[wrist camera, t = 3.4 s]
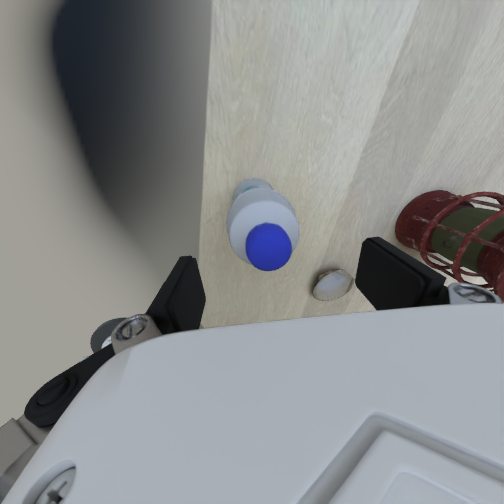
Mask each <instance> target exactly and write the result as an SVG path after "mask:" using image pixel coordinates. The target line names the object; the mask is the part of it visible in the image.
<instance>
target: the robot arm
mask: <svg viewBox="0 0 504 504" xmlns="http://www.w3.org/2000/svg"><path fill="white" fill-rule="evenodd" d="M445 280H446V277H444V276H443V275H441V274H439V273H438V272H436V271H434V270H433V269H431V268H430V267H428V266H426V265H425V264H423V263H421V262H420V261H418V260H416V259H415V258H413V257H412V256H410V255H408V254H407V253H405V252H403V251H402V250H400V249H398V248H397V247H395V246H394V245H392V244H390V243H389V242H387V241H385V240H384V239H382V238H380V237H371V238H367V239H366V240H365V241H363V243H362V247H361V253H360V258H359V263H358V268H357V274H356V279H355V284H356V286H357V288H358V289H359V290H360V291H361V292H362V293H363V295H364V296H365V297H366V298H367V299H368V300H369V302H370V303H371V304H372V305H373V306H374V307H375V309H376V310H377V311H368V312H358V313H347V314H337V315H327V316H317V317H307V318H297V319H287V320H278V321H268V322H259V323H250V324H240V325H231V326H222V327H212V328H204V329H199V326H200V322H201V318H202V314H203V310H204V306H205V302H206V296H205V292H204V288H203V284H202V280H201V276H200V273H199V269H198V265H197V261H196V258H192V256H182V257H180V258H179V260H178V261H177V263H176V265H175V266H174V268H173V270H172V271H171V273H170V275H169V276H168V278H167V280H166V281H165V282H164V284H163V285H162V287H161V289H160V290H159V292H158V294H157V296H156V297H155V299H154V300H153V302H152V304H151V305H150V307H149V309H148V310H147V312H146V313H145V314H138V315H135V316H132V317H129V318H127V319H125V320H124V321H122V322H121V323H120V324H119V325H117V326H116V328H115V329H114V330H113V332H112V334H111V336H109V337H108V338H107V339H106V340H105V341H104V343H103V344H102V349H100V350H99V351H97V352H95V353H94V354H92V355H91V356H87V357H83V358H82V359H81V360H80V362H79V363H77V364H76V365H74V366H72V367H71V368H69V369H68V370H66V371H64V372H63V373H61V374H59V375H58V376H56V377H54V378H53V379H52V380H50V381H49V382H47V383H46V384H44V386H42V387H41V388H40V389H39V390H38V391H37V392H36V393H35V394H34V395H33V396H32V397H31V399H30V400H29V402H28V404H27V405H26V407H25V411H24V415H22V416H21V417H20V418H19V419H18V420H15V419H14V418H12V419H11V420H9V421H8V422H7V423H6V424H4V425H3V426H2V427H1V428H0V504H504V304H503V301H502V300H501V298H500V297H499V296H497V295H496V294H495V293H493V292H491V291H489V290H487V289H485V288H482V287H480V286H476V285H473V284H468V283H451V284H450V285H449V286H448V287H446V286H444V282H445Z"/></svg>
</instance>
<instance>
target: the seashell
mask: <svg viewBox="0 0 504 504" xmlns="http://www.w3.org/2000/svg"><path fill="white" fill-rule="evenodd" d="M353 284H354V279H353V277H352V276H350V275H348V274H346V272H344V271H343V270H342V269H337V270H329V271H327V272H326V273H325V274H322V275H320V276H319V281H318V282H317V284H316V285H315V287H314V289H313V295H314V297H315V298H317V299H319V300H322V301H330V300H334V299H335V300H336V299H337V298H340V297H342V296H343V295H345V294H346V293H347V292H349V290H350V289H351V288H352V286H353Z"/></svg>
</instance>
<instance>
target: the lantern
mask: <svg viewBox="0 0 504 504" xmlns="http://www.w3.org/2000/svg"><path fill="white" fill-rule="evenodd" d="M482 196H486V197H491V198H493V199H496V200H497V201H498V202H499V203H500V204H501V205H499V204H494V203H489V202H484V201H479V200H474V199H471V198H475V197H482ZM470 202H473V203H477V204H481V205H486V206H490V207H495V208H499V209H501V210H500V211H495V210H490V209H483V208H475V207H474V206H473V205H472V204H471V203H470ZM395 232H396V236H397V238H398V240H399V242H401V243H402V244H403V245H404V246H406V247H409V248H413V249H416V250H417V251H419V252H420V255H421V257H422V259H423V260H424V261H425V262H426V263H427V264H428V265H429V266H431V267H432V268H435V269H438V270H441V271H442V272H444V273H446V274H447V275H449V276H451V277H453V278H454V279H456V280H457V281H458V282H459V283H468V284H472V283H469V282H467V281H464V280H463V278H462V277H461V274H460V273H462V274H464V275H468V276H480V277H483V278H484V279H485V281H486V282H487V283H489V284H484V285H476V284H473V285H476V286H480V287H482V288H485V289H486V288H492V287H493V288H494V289H493V290H489V291H491V292H492V291H494V293H495V294H496V295H497V296H499V297H500V298H501V300H502V301H503V303H504V195H501V194H499V193H493V192H477V193H473V194H469V195H465V196H463V197H462V196H461V195H458V196H456V195H454V194H452V193H450V192H448V191H443V190H436V191H431V192H427V193H424V194H422V195H420V196H419V197H417V198H416V199H414V200H413V201H412V202H410V203H409V204H408V205H407V206H406V207H405V208H404V210H403V211H402V213H401V214H400V216H399V218H398V221H397V224H396V231H395ZM429 252H430V253H439V254H440V255H442V256H443V257H445V258H447V259H449V260H450V261H453V264H449V263H447V262H445V261H443V260H442V259H440V258H438V257H436V256H434V255H432V254H430V253H429ZM427 255H428V256H430V257H432V258H434V259H436V260H438V261H440V262H441V263H443V264H445V265H447V266H440V265H438V264H435V263H433V262H431V261H430V260H429V259H428V257H427ZM460 267H465V268H468V269H470V270H472V271H474V272H476V273H470V272H466V271H464V270H462V269H460ZM445 269H452V272H453V274H452V273H450V272H448V271H447V270H445Z"/></svg>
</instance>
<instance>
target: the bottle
mask: <svg viewBox="0 0 504 504" xmlns="http://www.w3.org/2000/svg"><path fill="white" fill-rule="evenodd" d="M226 224H227V232H228V235H229V240H230V244H231V247H232V249H233V251H234V252H235V253H236V255H237V256H238V257H239V258H240V259H242V260H243V261H245V262H246V263H248V264H251V265H253V266H254V267H256V268H258V269H260V270H263V271H273V270H276V269H279V268H281V267H282V266H284V265H285V264H286V263H287V262H288V260H289V258H290V256H291V253H292V252H293V250H294V249H295V247H296V245H297V242H298V239H299V224H298V221H297V218H296V216H295V212H294V209H293V207H292V205H291V204H290V202H289V201H288V200H287V199H286V198H285V197H284V196H283V195H281V194H280V193H278V192H276V191H274V190H273V189H272V187H271V186H270V185H269V184H268V183H267V182H265V181H264V180H262V179H258V178H251V179H247V180H245V181H243V182H241V183H240V184H239V185H238V187H237V188H236V190H235V192H234V196H233V204H232V206H231V208H230V210H229V212H228V215H227V222H226Z"/></svg>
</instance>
